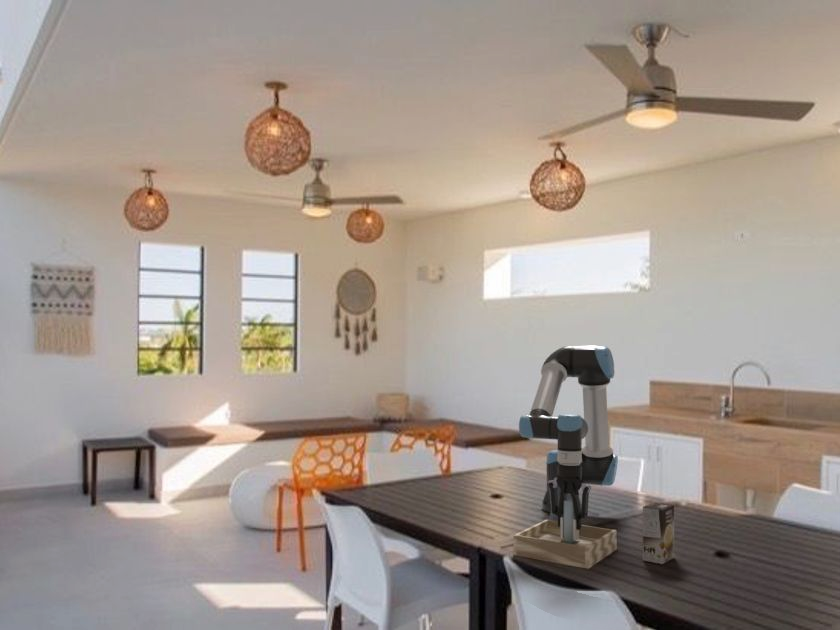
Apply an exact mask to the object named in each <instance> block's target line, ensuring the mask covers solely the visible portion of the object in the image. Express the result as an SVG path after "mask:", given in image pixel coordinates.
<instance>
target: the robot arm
mask: <svg viewBox="0 0 840 630" xmlns="http://www.w3.org/2000/svg"><path fill="white" fill-rule="evenodd" d="M540 374H541V378H540V381H539V385H538V387H537V390H536V394H535V396H534V400H533V403H532V405H531V408H530V411H529V414H524V415H521V416H520V418H519V421H518V432H519V435H520V436H521V437H522V438H525V439H526V438H527V439H532V440H533V439H534V440H535V439H536V440H537V439H540V440H541V439H543V440H556V441H557V448H556V449H553V450H550V451H548V452H547V455H546V462H545V465H546V489H545V493H544V496H543V499H542V502H541V509H542V511H545V512H548V513H550V511H551V505H552V513H553V514H555V515H557V516H558V527H560V538H562V539H563V538H564V516H563V515H564V500H565V499H566V498H567V495H568V493H569V494H571V497H572V500H573V505H574V511H575V519H573V540H574V541H576V540H578V539H579V530H580V529H581V527H582V526H581V525H583V524H582V519H584V518H587V517H588V514H589V513H588V512H589V497H590V495H589V493H590V491H591V490H592V487H591V486H592V485H594V486H601V487H603V486H605V487H606V486H612V485H614V483H615V481H616V477H617V470H618V463H619V462H618V461H619V458H618V455H617V454H614V449H613V448H612V447H611V446H610V445H609V423H608V422H609V421H608V420H609V419H608V397H607V395H608V394H607V386H608V385H609V384H610V383H611V379H613V378H614V376H615V363H614V357H613V352H612V351H611V349H610V348H609V347H608V346H601V345H566V346H562V347H560V348H558V349H557V350H555V351H553V352H552V353H550V355H549V356H547V358H546V359H545V361H544V362H543V363H542V366H541V371H540ZM567 378H577V383H578V385H580V386H581V387H582V400H583V401H582V402H583V403H582V404H583V417H582V416H581V415H580V414H578V413H561V414H558V415H557V416H555V415H554V411H555V408H556V405H557V402H558V398H559V394H560V392H561V388H562V384H563V383H564V382H565V381H566V379H567ZM582 439H583V440H584V442H585V443H584V445H585V446H583V445H582V443H583V440H582ZM582 446H583V448H582ZM553 476H555V477H556V478H557V479H556V481H553V482H550V483H549V486H548V482H549V481H550V480H552V479H553ZM557 484H558V485H557ZM590 485H591V486H590ZM557 486H559V487H560V489H561V492H560V501H559V507H558V493H557ZM549 487H550V490H551V504H550V496H549ZM580 489H581V492H582V493H581V494H582V495H581V497H580Z"/></svg>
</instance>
